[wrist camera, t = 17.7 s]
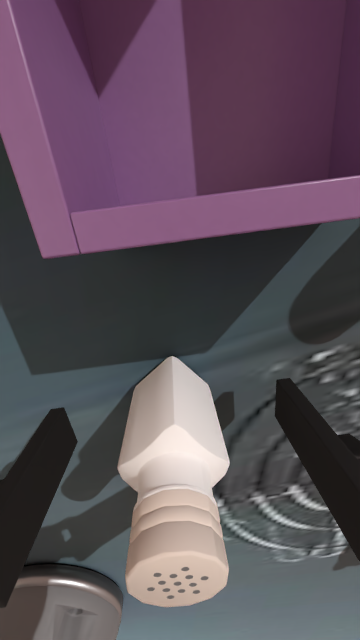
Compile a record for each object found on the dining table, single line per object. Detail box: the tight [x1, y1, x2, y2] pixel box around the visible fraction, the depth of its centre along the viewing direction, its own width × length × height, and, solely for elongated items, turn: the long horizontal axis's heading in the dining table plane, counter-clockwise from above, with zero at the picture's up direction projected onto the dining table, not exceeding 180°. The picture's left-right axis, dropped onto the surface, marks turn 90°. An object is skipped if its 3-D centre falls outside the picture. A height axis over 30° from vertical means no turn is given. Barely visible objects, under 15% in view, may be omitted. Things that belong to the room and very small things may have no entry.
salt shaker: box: [117, 356, 230, 607], centre depth 11 cm, size 4×4×10 cm
